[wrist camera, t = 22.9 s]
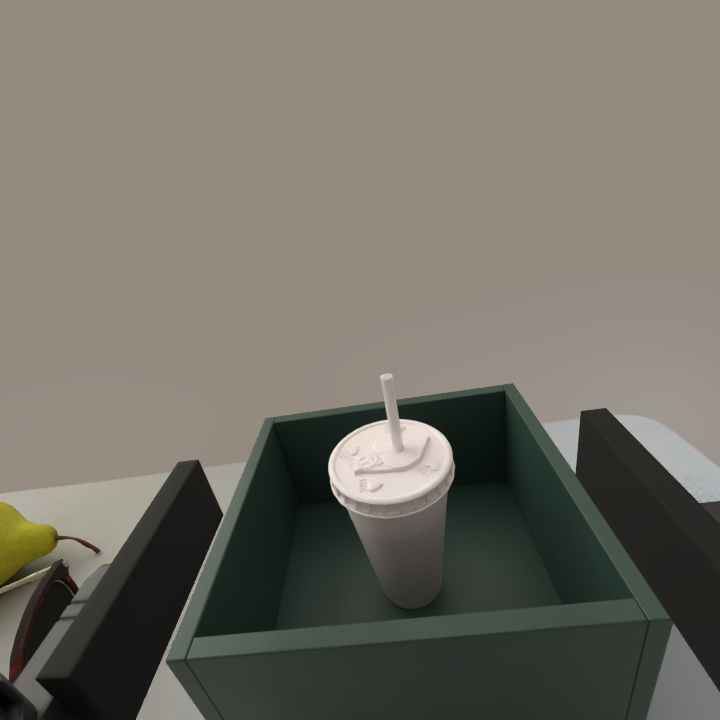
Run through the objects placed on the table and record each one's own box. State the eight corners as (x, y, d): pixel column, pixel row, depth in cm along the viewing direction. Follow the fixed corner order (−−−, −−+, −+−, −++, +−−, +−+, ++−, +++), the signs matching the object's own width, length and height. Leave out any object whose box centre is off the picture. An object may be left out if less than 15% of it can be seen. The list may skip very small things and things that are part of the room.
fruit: (-118, 505, 26) (89, 478, 30) (-51, 513, 32) (115, 489, 36) (-151, 625, 24) (81, 579, 27) (-71, 609, 30) (111, 573, 33)
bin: (513, 480, 30) (513, 382, 27) (639, 745, 16) (675, 619, 13) (294, 506, 32) (264, 417, 28) (238, 768, 18) (163, 662, 14)
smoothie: (488, 599, 22) (478, 385, 16) (386, 658, 20) (331, 443, 14) (428, 519, 27) (404, 339, 21) (344, 560, 26) (292, 376, 20)
